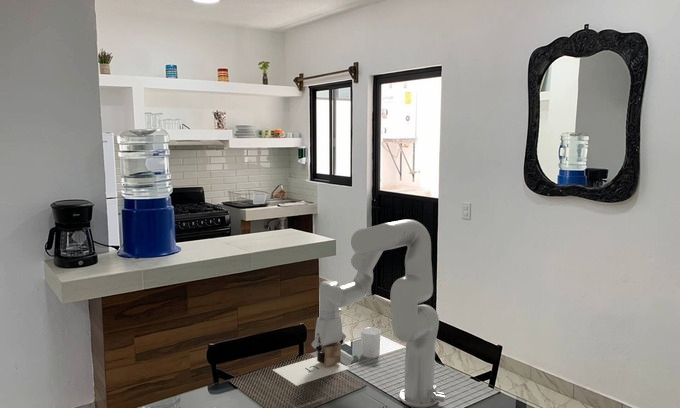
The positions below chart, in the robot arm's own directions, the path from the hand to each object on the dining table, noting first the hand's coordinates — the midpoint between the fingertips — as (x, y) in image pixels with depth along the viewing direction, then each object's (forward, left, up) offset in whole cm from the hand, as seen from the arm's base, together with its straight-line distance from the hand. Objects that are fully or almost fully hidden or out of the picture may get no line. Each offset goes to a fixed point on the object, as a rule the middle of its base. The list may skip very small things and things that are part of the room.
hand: (328, 359), depth 199 cm
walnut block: (0, 0, -1) cm, 1 cm away
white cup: (-9, -18, -3) cm, 20 cm away
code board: (+3, +7, -2) cm, 8 cm away
